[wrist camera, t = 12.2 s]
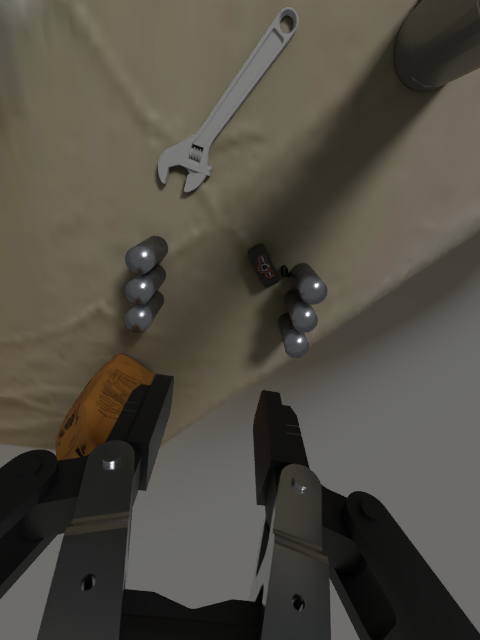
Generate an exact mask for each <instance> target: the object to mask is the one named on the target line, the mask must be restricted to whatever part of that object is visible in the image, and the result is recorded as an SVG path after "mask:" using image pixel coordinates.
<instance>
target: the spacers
mask: <svg viewBox="0 0 480 640" xmlns="http://www.w3.org/2000/svg"><path fill="white" fill-rule="evenodd" d="M167 252H168V245H167V243H166V241H165V240H164V239H163V238H161V237H159V236H152V237H150V238H148V239H146V240H145V241H143V242H141V243H140V244H138V245H136V246H135V247H133V248H131V249H130V250H128V252H127V253H126V256H125V262H126V265H127V267H128V268H129V269H130V270H131V271H132V272H134V273H136V274H138V275H136V276H135V277H134V278H133V279H132V280H131V281H130V282H128V283H127V285H126V286H125V295H126V297H127V299H128V300H129V301H130V302H132V303H134V305H133V307H132V308H131V309H130V310H129V311H128V312H127V313H126V315H125V317H124V323H125V325H126V327H127V328H128V329H129V330H131V331H133V332H137V333H140V332H144V331H145V330H146V329H147V328H148V327H149V325H150V324H151V322H152V321H153V319H154V317H155V316H156V314H157V313H158V311H159V310H160V308H161V307H162V305H163V303H164V298H163V295H162V294H161V293H160V292H159V291H157V289H158V288H159V287H160V286H161V284H162V283H163V282H164V280H165V278H166V273H165V270H164V269H163V268H162V267H161V266H160V265H158V264H157V263H158V262H159V261H160V260H161V259H162V258H163V257H164V256H165V255H166V254H167ZM291 278H292V280H293V282H294V284H295V286H296V288H297V289H293V290H290V291H289V292H287V294H286V295H285V298H284V301H285V304H286V307H287V310H288V312H289V313H286V314H283V315H282V316H281V317H280V318H279V321H278V325H279V328H280V332H281V336H282V340H283V343H284V347H285V351H286V353H287V354H288V355H289V356H290V357H293V358H299V357H302V356H304V355H305V354H306V353H307V352H308V350H309V344H308V341H307V339H306V337H305V334H304V332H309V331H311V330H313V329H314V328H315V327H316V325H317V322H318V318H317V315H316V314H315V312H314V310H313V308H312V307H311V305H310V304H318V303H320V302H322V301H323V300H324V299H325V297H326V295H327V287H326V285H325V283H324V282H323V281H322V280H321V279H320V278H319V276H318V275H317V274H316V273H315V272H314V270H313V269H312V268H311V267H310V266H309V265H308V264H304V263H301V264H298V265H296V266H295V267H294V268H293V269H292V272H291Z"/></svg>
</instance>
